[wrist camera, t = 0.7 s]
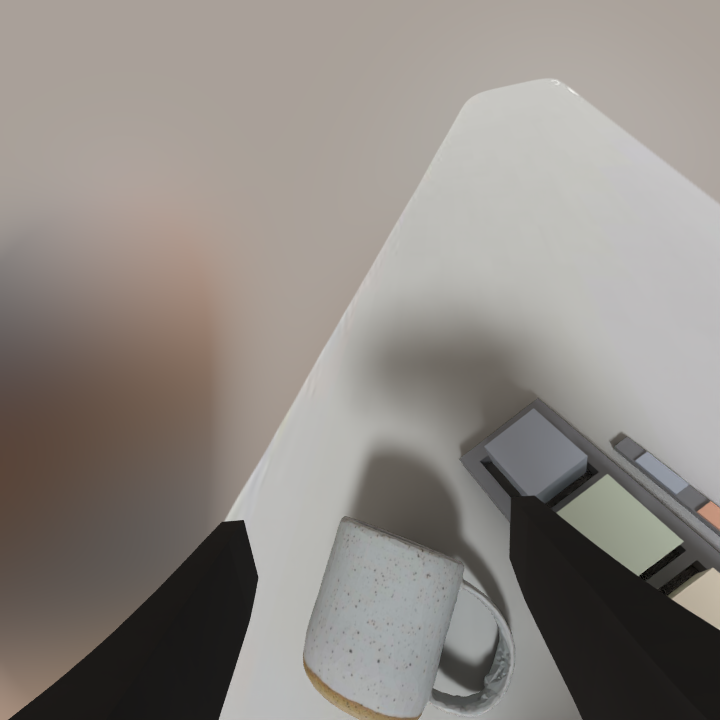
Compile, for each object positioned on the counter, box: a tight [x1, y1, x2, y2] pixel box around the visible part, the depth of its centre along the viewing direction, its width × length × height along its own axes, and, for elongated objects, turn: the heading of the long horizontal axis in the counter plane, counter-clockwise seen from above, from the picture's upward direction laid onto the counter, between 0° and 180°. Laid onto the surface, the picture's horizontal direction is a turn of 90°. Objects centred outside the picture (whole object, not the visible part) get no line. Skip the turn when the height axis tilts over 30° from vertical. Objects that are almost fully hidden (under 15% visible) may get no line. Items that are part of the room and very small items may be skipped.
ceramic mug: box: [303, 516, 515, 720], centre depth 20 cm, size 11×8×8 cm
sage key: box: [557, 474, 684, 576], centre depth 19 cm, size 4×4×3 cm
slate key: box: [484, 408, 587, 503], centre depth 22 cm, size 4×4×3 cm
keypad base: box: [459, 398, 720, 590], centre depth 19 cm, size 22×7×1 cm, turn 29°
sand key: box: [667, 568, 720, 630], centre depth 15 cm, size 4×4×3 cm
